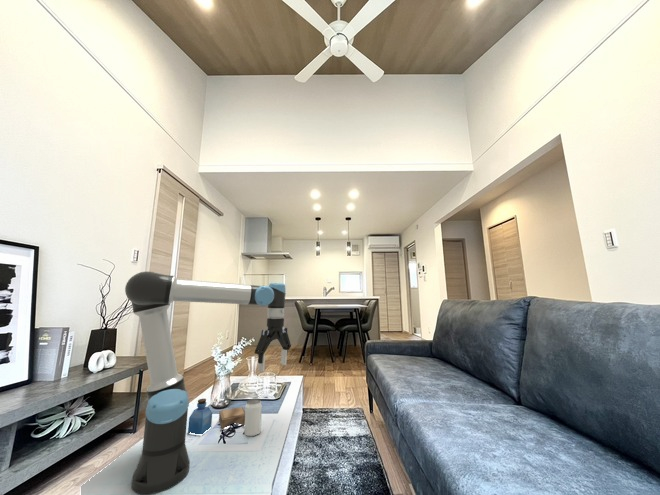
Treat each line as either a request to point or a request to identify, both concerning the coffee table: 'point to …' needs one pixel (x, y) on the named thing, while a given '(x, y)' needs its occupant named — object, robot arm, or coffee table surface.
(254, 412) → the can
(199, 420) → the perfume bottle
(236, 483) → the coffee table surface
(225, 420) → the plinth
